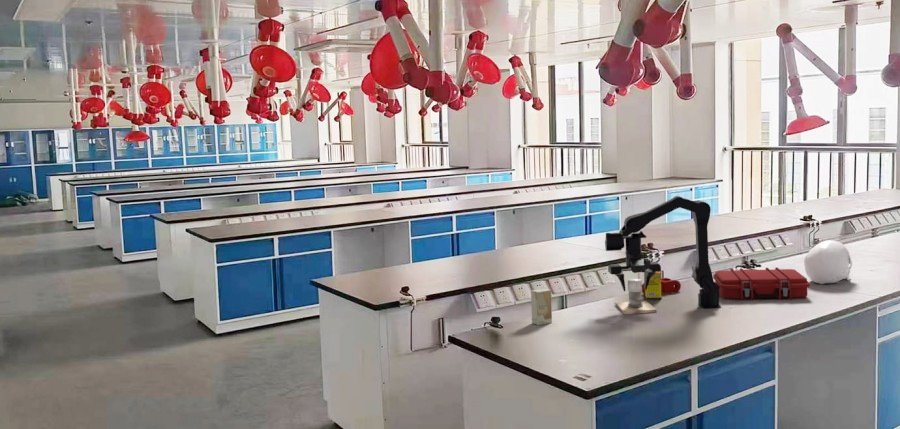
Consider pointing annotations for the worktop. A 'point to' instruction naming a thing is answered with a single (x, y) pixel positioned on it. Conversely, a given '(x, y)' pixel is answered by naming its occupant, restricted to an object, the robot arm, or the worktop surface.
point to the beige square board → (635, 305)
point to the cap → (634, 285)
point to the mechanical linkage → (667, 286)
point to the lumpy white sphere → (828, 262)
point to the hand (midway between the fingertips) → (635, 290)
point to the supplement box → (654, 287)
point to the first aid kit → (761, 284)
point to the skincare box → (541, 306)
